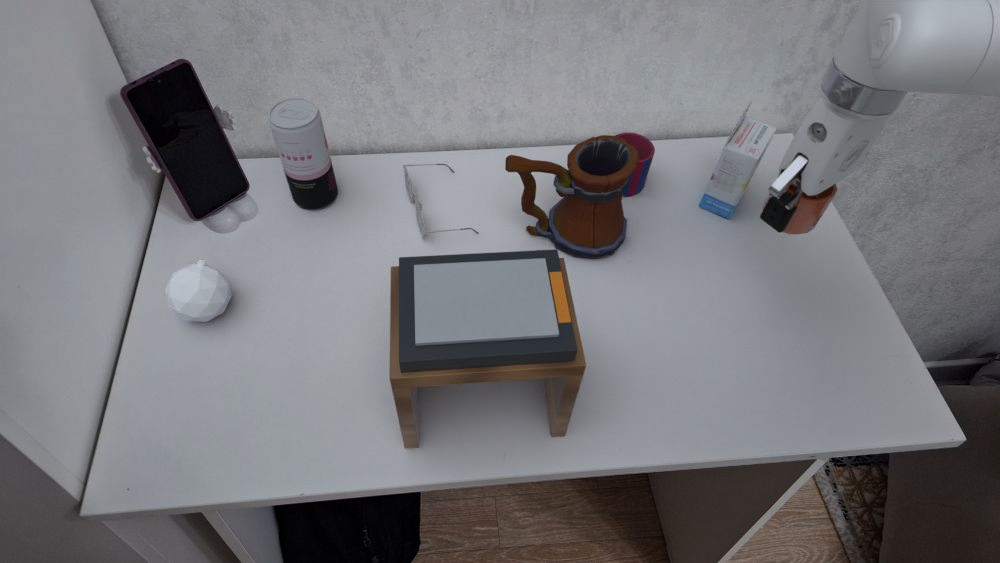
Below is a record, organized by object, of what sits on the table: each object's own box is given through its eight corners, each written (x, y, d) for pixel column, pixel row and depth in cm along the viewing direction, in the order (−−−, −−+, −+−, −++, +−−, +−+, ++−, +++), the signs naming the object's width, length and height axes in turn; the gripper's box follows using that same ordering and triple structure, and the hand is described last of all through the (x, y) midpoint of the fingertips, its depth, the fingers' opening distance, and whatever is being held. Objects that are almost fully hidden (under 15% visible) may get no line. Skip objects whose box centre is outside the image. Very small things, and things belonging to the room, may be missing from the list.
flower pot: (824, 223, 75) (848, 187, 71) (791, 245, 73) (814, 208, 68) (782, 192, 79) (802, 156, 74) (749, 212, 76) (768, 176, 71)
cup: (648, 196, 94) (659, 162, 88) (583, 197, 93) (590, 163, 88) (639, 166, 98) (649, 131, 92) (577, 167, 97) (583, 132, 92)
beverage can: (303, 177, 93) (279, 93, 81) (345, 184, 93) (326, 100, 81) (286, 207, 89) (257, 123, 77) (329, 215, 89) (307, 132, 77)
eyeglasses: (402, 180, 94) (402, 159, 91) (453, 173, 96) (455, 153, 93) (424, 247, 86) (424, 227, 83) (479, 238, 88) (481, 219, 85)
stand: (548, 338, 77) (563, 257, 65) (565, 436, 70) (586, 365, 57) (404, 347, 76) (390, 266, 63) (404, 448, 68) (389, 378, 55)
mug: (504, 266, 84) (510, 186, 72) (497, 205, 91) (501, 123, 79) (633, 260, 86) (659, 181, 74) (616, 201, 93) (638, 120, 81)
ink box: (729, 221, 91) (767, 142, 79) (697, 207, 93) (730, 128, 81) (748, 188, 96) (787, 109, 84) (717, 175, 97) (751, 95, 85)
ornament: (165, 307, 78) (170, 247, 76) (229, 311, 81) (235, 254, 79) (159, 330, 72) (164, 265, 70) (228, 334, 75) (235, 272, 73)
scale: (555, 261, 64) (557, 245, 62) (574, 361, 57) (578, 347, 55) (400, 269, 63) (398, 253, 61) (400, 373, 56) (398, 359, 54)
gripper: (844, 135, 56) (768, 262, 70) (945, 76, 63) (858, 203, 77) (777, 93, 60) (718, 222, 74) (880, 42, 66) (808, 169, 80)
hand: (790, 211), depth 75 cm, fingers closed on flower pot, 6 cm apart
